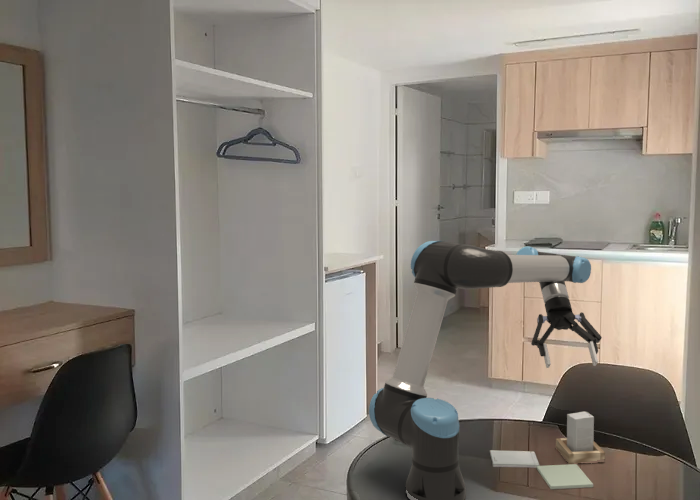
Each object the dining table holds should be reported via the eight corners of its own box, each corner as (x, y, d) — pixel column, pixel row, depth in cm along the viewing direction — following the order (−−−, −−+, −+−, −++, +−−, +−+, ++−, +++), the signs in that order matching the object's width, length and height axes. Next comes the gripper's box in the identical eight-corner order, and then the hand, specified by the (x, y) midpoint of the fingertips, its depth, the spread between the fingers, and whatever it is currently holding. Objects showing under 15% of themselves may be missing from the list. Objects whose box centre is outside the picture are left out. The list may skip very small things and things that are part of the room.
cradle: (568, 464, 180) (569, 454, 180) (555, 448, 190) (555, 438, 190) (604, 462, 181) (604, 452, 180) (589, 446, 191) (589, 436, 190)
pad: (550, 489, 168) (550, 486, 167) (536, 468, 178) (536, 466, 178) (593, 487, 168) (593, 484, 168) (576, 466, 179) (576, 464, 179)
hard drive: (492, 463, 180) (539, 463, 179) (489, 449, 188) (534, 450, 187) (492, 468, 180) (539, 469, 179) (489, 455, 188) (534, 455, 187)
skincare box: (584, 450, 188) (585, 410, 187) (593, 457, 184) (594, 416, 183) (565, 453, 187) (566, 413, 185) (574, 460, 183) (575, 419, 181)
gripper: (594, 305, 206) (611, 368, 194) (514, 309, 206) (526, 372, 194) (600, 293, 200) (619, 357, 187) (518, 297, 200) (531, 361, 188)
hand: (572, 364), depth 191 cm, fingers open, 13 cm apart
